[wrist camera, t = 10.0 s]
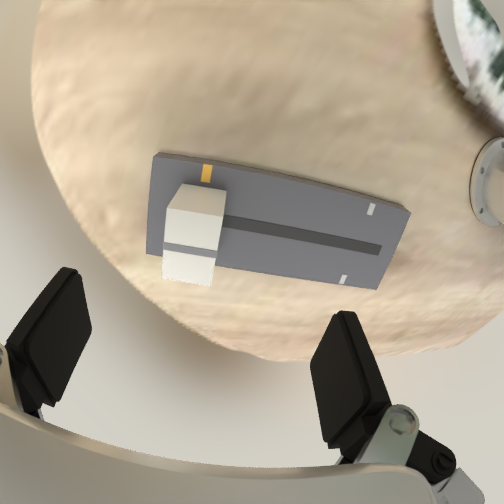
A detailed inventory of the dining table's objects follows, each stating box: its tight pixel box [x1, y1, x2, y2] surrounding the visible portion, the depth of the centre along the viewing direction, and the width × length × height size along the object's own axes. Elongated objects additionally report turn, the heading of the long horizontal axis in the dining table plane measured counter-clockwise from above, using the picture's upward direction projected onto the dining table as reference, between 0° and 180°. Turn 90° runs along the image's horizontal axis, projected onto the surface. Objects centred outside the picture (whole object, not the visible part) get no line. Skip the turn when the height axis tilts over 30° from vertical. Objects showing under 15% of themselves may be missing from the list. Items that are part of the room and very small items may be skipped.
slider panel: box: [146, 153, 411, 290], centre depth 29 cm, size 26×10×2 cm, turn 78°
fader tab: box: [162, 184, 227, 287], centre depth 24 cm, size 4×6×6 cm
